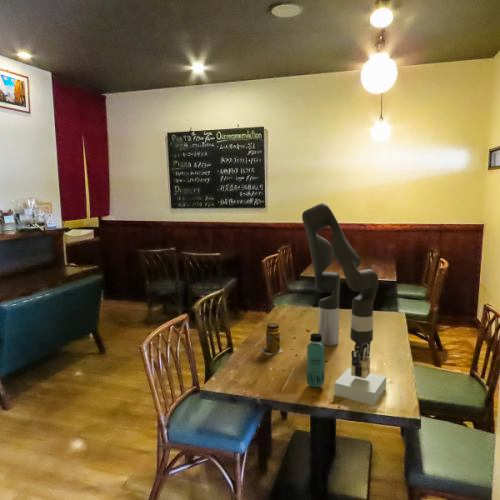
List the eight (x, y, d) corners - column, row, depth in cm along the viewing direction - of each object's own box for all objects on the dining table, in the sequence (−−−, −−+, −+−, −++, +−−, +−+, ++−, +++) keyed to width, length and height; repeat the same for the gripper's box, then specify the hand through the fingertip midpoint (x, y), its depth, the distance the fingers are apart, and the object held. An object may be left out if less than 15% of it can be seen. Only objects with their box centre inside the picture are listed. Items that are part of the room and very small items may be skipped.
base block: (348, 380, 159) (348, 367, 158) (385, 389, 152) (386, 376, 151) (334, 396, 148) (334, 382, 147) (374, 406, 140) (374, 392, 139)
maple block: (356, 370, 152) (356, 354, 151) (369, 373, 149) (370, 357, 148) (351, 375, 148) (351, 359, 147) (365, 378, 145) (365, 362, 144)
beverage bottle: (304, 383, 157) (304, 331, 154) (322, 382, 157) (322, 330, 154) (308, 391, 150) (308, 338, 147) (326, 390, 151) (327, 337, 148)
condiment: (283, 351, 187) (283, 325, 185) (268, 355, 182) (268, 329, 181) (274, 346, 193) (273, 321, 191) (258, 350, 188) (258, 324, 187)
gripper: (358, 319, 154) (357, 363, 157) (344, 331, 142) (343, 378, 145) (378, 322, 150) (377, 367, 152) (365, 335, 138) (364, 383, 141)
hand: (360, 372), depth 149 cm, fingers closed on maple block, 5 cm apart
